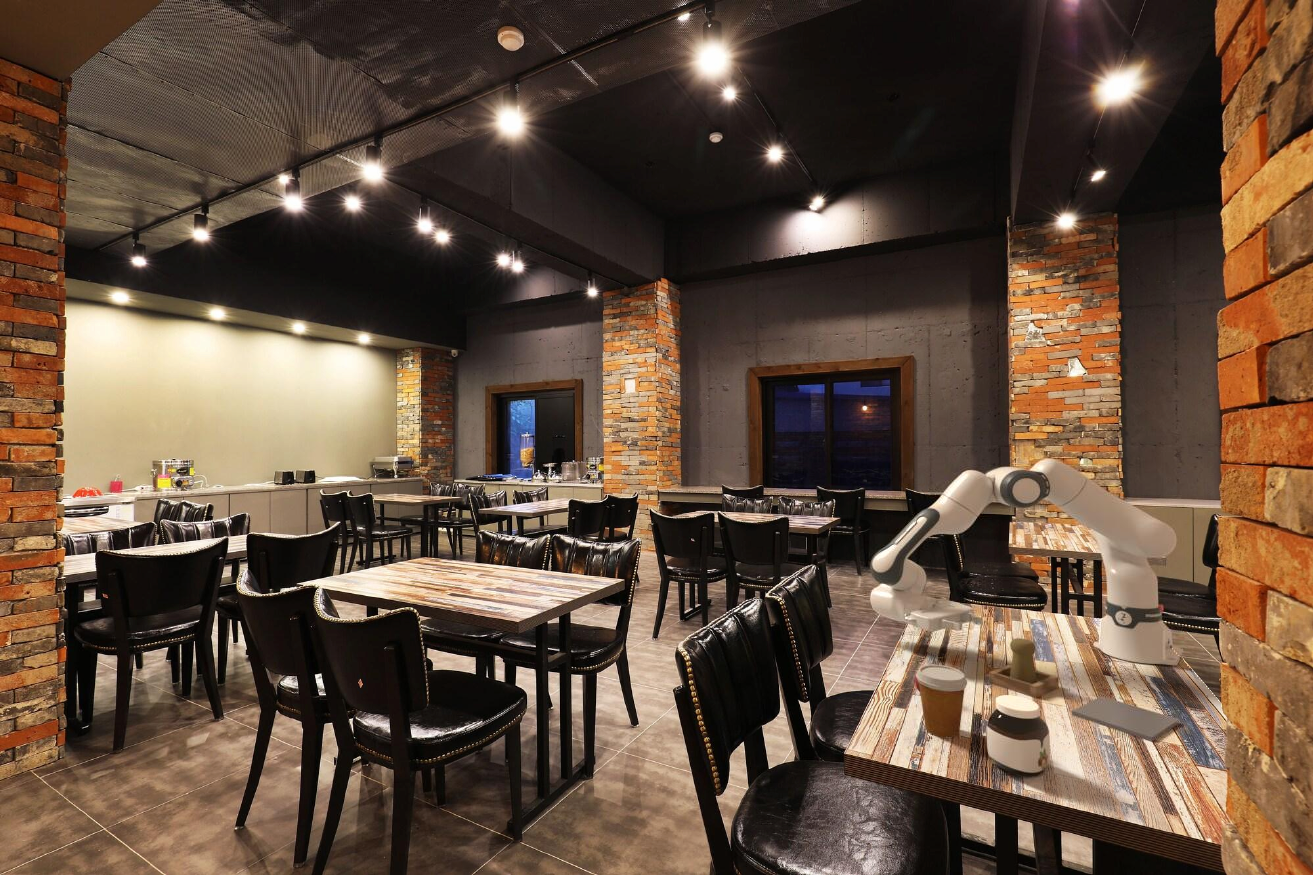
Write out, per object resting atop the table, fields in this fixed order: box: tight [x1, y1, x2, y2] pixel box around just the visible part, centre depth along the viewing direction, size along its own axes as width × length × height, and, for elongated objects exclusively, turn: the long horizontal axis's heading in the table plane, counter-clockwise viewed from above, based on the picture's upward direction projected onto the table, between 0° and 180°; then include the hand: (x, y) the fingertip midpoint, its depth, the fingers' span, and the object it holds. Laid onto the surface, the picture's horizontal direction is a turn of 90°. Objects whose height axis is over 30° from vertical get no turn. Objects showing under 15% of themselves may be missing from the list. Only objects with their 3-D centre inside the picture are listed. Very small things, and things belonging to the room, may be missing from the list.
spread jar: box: [985, 694, 1051, 778], centre depth 111 cm, size 12×11×12 cm
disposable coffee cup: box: [915, 664, 968, 739], centre depth 123 cm, size 10×10×12 cm
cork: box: [1009, 637, 1037, 684], centre depth 145 cm, size 6×6×11 cm
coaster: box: [1071, 695, 1180, 742], centre depth 127 cm, size 14×14×1 cm
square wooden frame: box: [988, 663, 1060, 699], centre depth 145 cm, size 11×11×2 cm
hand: (971, 624), depth 156 cm, fingers open, 8 cm apart
